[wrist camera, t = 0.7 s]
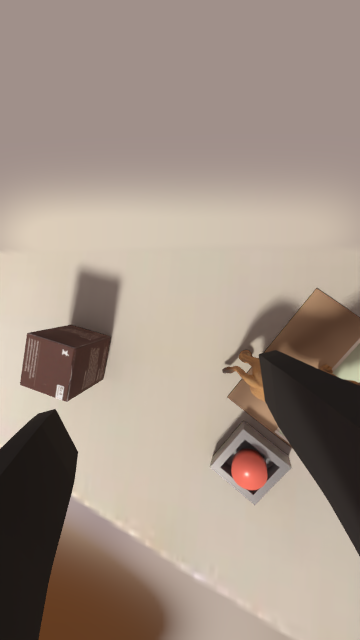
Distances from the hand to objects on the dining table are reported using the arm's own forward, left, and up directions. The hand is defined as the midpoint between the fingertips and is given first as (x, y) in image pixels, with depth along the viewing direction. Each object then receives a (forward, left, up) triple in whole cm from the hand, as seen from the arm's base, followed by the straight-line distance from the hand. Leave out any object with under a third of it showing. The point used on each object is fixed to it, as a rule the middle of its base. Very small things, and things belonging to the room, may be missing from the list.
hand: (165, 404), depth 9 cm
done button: (-11, +10, -20) cm, 25 cm away
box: (+12, +13, -22) cm, 28 cm away
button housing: (-11, +10, -21) cm, 26 cm away
